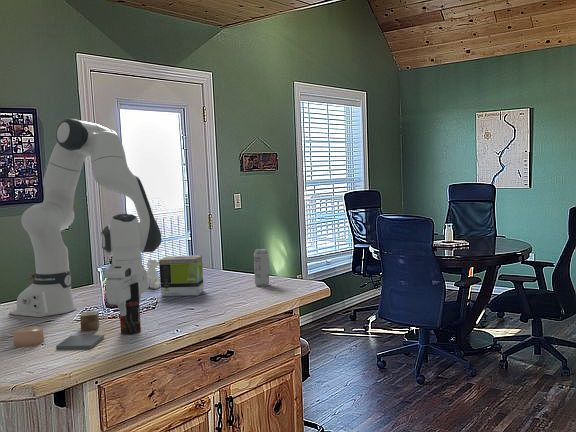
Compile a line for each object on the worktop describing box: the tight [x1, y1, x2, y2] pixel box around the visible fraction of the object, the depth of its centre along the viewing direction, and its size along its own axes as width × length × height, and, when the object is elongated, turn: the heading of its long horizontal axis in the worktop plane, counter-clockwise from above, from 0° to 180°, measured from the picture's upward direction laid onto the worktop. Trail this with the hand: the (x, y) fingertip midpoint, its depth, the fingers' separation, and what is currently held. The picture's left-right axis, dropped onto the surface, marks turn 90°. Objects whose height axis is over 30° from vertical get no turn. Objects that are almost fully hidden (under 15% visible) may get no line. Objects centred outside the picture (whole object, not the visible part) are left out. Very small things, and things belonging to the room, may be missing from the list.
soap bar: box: [12, 326, 45, 348], centre depth 170 cm, size 8×8×4 cm
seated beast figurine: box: [146, 258, 161, 290], centre depth 246 cm, size 10×9×12 cm
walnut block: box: [79, 310, 100, 333], centre depth 183 cm, size 5×5×5 cm
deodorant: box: [119, 282, 142, 336], centre depth 178 cm, size 6×6×15 cm
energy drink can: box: [253, 248, 270, 287], centre depth 242 cm, size 6×6×15 cm
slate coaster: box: [55, 334, 105, 350], centre depth 167 cm, size 10×10×1 cm
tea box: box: [158, 254, 204, 297], centre depth 230 cm, size 15×10×15 cm, turn 84°
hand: (129, 312), depth 178 cm, fingers closed on deodorant, 6 cm apart
